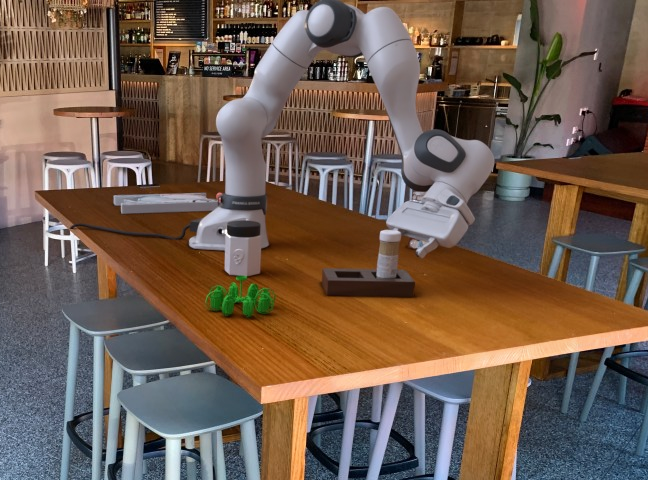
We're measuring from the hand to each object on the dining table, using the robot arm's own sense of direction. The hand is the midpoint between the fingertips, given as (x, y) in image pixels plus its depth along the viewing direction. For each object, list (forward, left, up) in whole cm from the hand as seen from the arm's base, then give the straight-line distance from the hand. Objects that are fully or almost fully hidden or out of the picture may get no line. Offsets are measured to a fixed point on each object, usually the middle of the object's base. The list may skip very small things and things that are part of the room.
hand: (403, 251), depth 179 cm
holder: (-8, -2, -8) cm, 12 cm away
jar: (-36, +12, -9) cm, 39 cm away
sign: (-61, +102, -9) cm, 119 cm away
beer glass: (+14, +43, -9) cm, 46 cm away
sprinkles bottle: (-4, -2, -9) cm, 10 cm away
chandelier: (-37, -19, -9) cm, 43 cm away
